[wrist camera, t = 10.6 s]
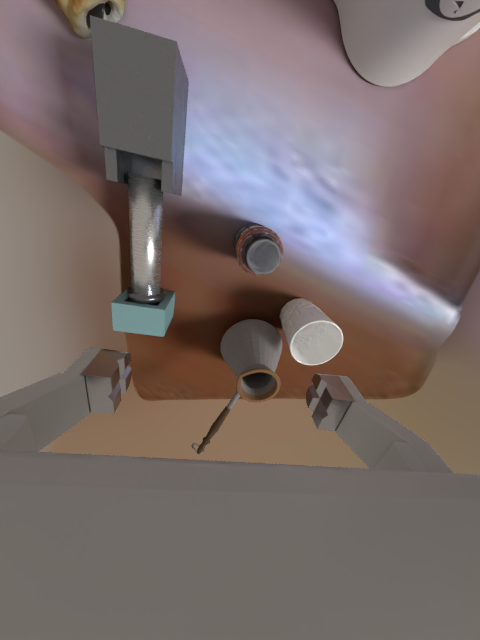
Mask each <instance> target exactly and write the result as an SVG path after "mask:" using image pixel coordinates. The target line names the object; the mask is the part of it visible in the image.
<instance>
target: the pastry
mask: <svg viewBox="0 0 480 640" xmlns="http://www.w3.org/2000/svg"><path fill="white" fill-rule="evenodd" d="M55 1H56V2H57V4H58V6H59V7H60V8H61V10H62V11H63V13H64V14H65V15H66V17H67V18H68V20H69V22H70V23H71V25H72V28H73V31H74V32H75V33H76V34H77V35H78V36H80V37H82V38H89V37H90V36H91V24H90V15H91V16H94V17H98V18H101V19H104V20H108V21H111V22H114V23H117V22H118V21H119V20H121V19H122V17H123V14H124V10H125V3H124V0H55Z"/></svg>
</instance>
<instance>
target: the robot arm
mask: <svg viewBox="0 0 480 640" xmlns="http://www.w3.org/2000/svg"><path fill="white" fill-rule="evenodd" d="M334 2H335V4H336V6H337V9H338V12H339V18H340V25H341V33H342V38H343V43H344V46H345V49H346V52H347V55H348V57H349V59H350V61H351V63H352V65H353V66H354V68H355V69H356V71H357V72H358V73H359V74H360V75H361V76H362V77H363V78H365V79H366V80H367V81H369V82H371V83H373V84H375V85H379V86H386V87H390V86H397V85H401V84H404V83H407V82H409V81H411V80H413V79H415V78H416V77H418V76H419V75H421V74H422V73H423V72H424V71H426V70H427V69H428V68H429V67H430V66H431V65H432V64H433V63H434V62H435V61H436V60H437V59H438V58H439V57H440V56H441V55H442V54H443V53H444V52H445V51H446V50H447V49H449V48H450V47H451V46H454V45H456V44H458V43H460V42H462V41H463V40H465V39H467V38H468V37H469V36H471V35H472V34H473V33H474V32H475V31H477V30H478V29H479V28H480V0H334ZM130 361H131V354H130V353H129V352H123V351H115V350H108V349H99V348H88V349H86V350H85V352H83V354H82V355H81V356H80V357H79V358H78V359H77V360H76V361H75V362H74V363H73V364H72V365H71V366H70V367H69V368H68V369H67V370H66V371H65V372H64V373H63V374H62V373H58V374H56V375H53V376H51V377H49V378H46V379H44V380H41V381H39V382H37V383H34V384H32V385H29V386H27V387H24V388H22V389H19V390H17V391H15V392H12V393H10V394H8V395H5V396H3V397H0V640H480V475H477V474H458V473H453V471H452V470H451V469H450V468H449V467H448V466H447V464H446V463H445V462H444V461H443V460H442V458H441V457H440V456H439V455H438V454H437V453H436V451H435V450H434V449H433V448H432V447H431V446H430V445H429V443H427V442H426V441H424V440H423V439H422V438H420V437H419V436H417V435H416V434H414V433H413V432H411V431H410V430H408V429H407V428H406V427H404V426H403V425H401V424H400V423H398V422H397V421H395V420H394V419H392V418H391V417H390V416H388V415H387V414H385V413H384V412H382V411H381V410H379V409H378V408H377V407H375V406H374V405H372V404H371V403H367V402H366V401H365V399H364V398H363V396H362V395H361V394H360V392H359V391H358V390H357V388H356V387H355V385H354V384H353V383H352V381H351V380H350V378H348V377H347V376H338V375H336V376H334V375H325V374H315V375H314V376H313V378H312V383H313V384H312V385H311V386H309V387H308V389H307V392H306V403H307V406H308V408H309V409H310V410H311V411H312V412H313V415H312V418H313V420H314V423H315V425H316V428H317V429H318V430H328V431H336V433H337V435H338V436H339V437H340V438H341V439H342V440H343V441H344V442H345V443H346V444H347V445H348V446H349V447H350V448H351V449H352V451H353V452H354V453H355V454H356V455H357V456H358V457H359V458H360V459H361V460H362V461H363V462H364V463H365V464H366V465H367V466H368V467H369V469H361V468H342V467H323V466H304V465H284V464H265V463H264V464H263V463H245V462H226V461H207V460H188V459H187V460H186V459H168V458H149V457H129V456H110V455H91V454H71V453H70V454H69V453H51V452H39V451H40V450H42V449H43V448H44V447H46V446H47V445H48V444H50V443H51V442H53V441H54V440H55V439H57V438H58V437H59V436H61V435H62V434H63V433H65V432H66V431H67V430H68V429H70V428H72V427H73V426H74V425H76V424H77V423H78V422H80V421H81V420H82V419H84V418H85V417H87V416H88V415H89V414H90V413H107V414H114V413H115V411H116V409H117V408H118V406H119V404H120V402H121V394H123V393H125V392H126V391H127V389H128V387H129V384H130V380H131V368H130V367H129V366H128V365H129V363H130Z"/></svg>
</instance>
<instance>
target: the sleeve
mask: <svg viewBox="0 0 480 640" xmlns="http://www.w3.org/2000/svg"><path fill="white" fill-rule="evenodd" d="M90 24H91V38H92V51H93V64H94V78H95V91H96V105H97V118H98V132H99V145H101V146H103V147H104V152H105V167H106V180H110V181H115V182H120V183H125V184H128V173H133V174H138V175H143V176H147V177H151V178H155V179H159V180H162V181H161V191H162V192H167V193H172V194H177V195H181V192H182V176H183V160H184V145H185V129H186V113H187V97H188V78H187V75H186V72H185V68H184V65H183V62H182V58H181V55H180V52H179V48H178V45H177V42H176V41H173V40H170V39H167V38H163V37H160V36H157V35H153V34H150V33H147V32H144V31H140V30H137V29H134V28H130V27H127V26H124V25H121V24H117V23H114V22H111V21H108V20H104V19H101V18H98V17H94V16H91V15H90Z"/></svg>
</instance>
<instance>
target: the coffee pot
mask: <svg viewBox="0 0 480 640" xmlns="http://www.w3.org/2000/svg"><path fill="white" fill-rule="evenodd" d="M220 345H221V354H222V357H223V359H224V360H225V362H226V363H227V364H228V366H229V367H230V368H231V370H232V371H233V372H234V373H235V375H236V376H237V377H238V380H237V391H236V393H235V394H234V396H233V397H232V399H231V400H230V402H229V404H228V405H227V406H226V407H225V409H224V410H223V411H222V413H221V414H220V415H219V417H218V418H217V419H216V421H215V422H214V423H213V425H212V426H211V428H210V430H209V432H208V434H207V436H206V437H204V438H203V442H202V444H201V445H198V444H196V443H193V444H192V448H193V449H194V450H195V451H196V452H197V453H198V454H200V453H203V452H204V448H205V446H206V445H207V444H209V443H210V439H211V438H212V436H213V435H214V434H215V433H216V432H217V431H218V430H219V428H220V426H221V425H222V423H223V421H224V420H225V418H226V416H227V415H228V413H229V411H230V409H231V407H232V406H233V405H234V403H235V402H236V401H237V399H238V398H239V396H241V397H242V398H243V399H245V400H247V401H251V402H262V401H266V400H269V399H271V398H272V397H274V396H275V395H276V394H277V393H278V391H279V389H280V379H279V377H278V375H277V374H276V373H275V370H276V367H277V364H278V361H279V358H280V355H281V352H282V345H283V344H282V338H281V336H280V334H279V332H278V330H277V329H276V328H275V327H274V326H273V325H271V324H269V323H267V322H265V321H262V320H258V319H247V320H243V321H240V322H238V323H236V324H234V325H233V326H232V327H231V328H229V329H228V330H227V331H226V333H225V334H224V336H223V338H222V341H221V344H220ZM193 445H198V446H199V448H198V450H196V449H195V448H194V447H193ZM202 451H203V452H202Z"/></svg>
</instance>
